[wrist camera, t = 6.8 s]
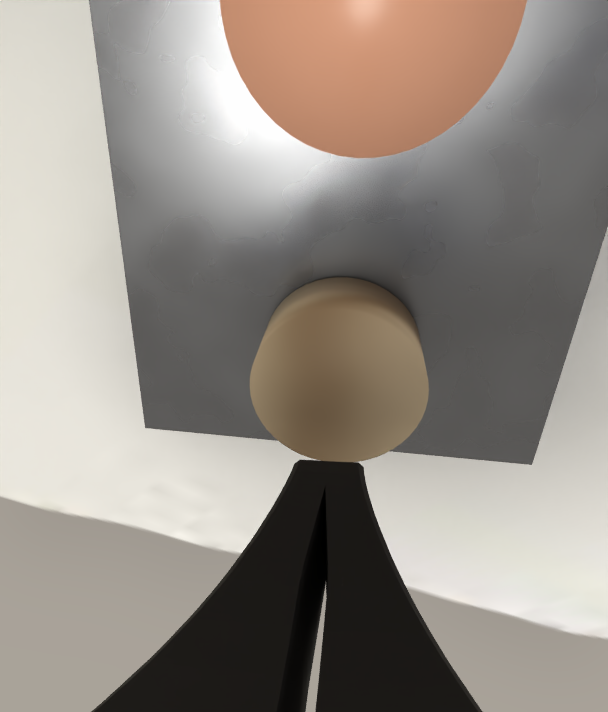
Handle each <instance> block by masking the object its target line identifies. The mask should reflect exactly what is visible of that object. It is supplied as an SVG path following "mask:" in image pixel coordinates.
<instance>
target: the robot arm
mask: <svg viewBox="0 0 608 712" xmlns="http://www.w3.org/2000/svg"><path fill="white" fill-rule="evenodd" d="M325 584H326V593H327V599H326V610H325V622H324V632H323V642H322V653H321V663H320V673H319V683H318V693H317V702H316V712H482V711H481V709H480V708H479V706H478V705H477V703H476V702H475V701H474V699H473V697H472V696H471V695H470V693H469V691H468V690H467V688H466V687H465V686H464V684H463V683H462V681H461V680H460V678H459V677H458V675H457V674H456V672H455V671H454V669H453V668H452V666H451V665H450V663H449V662H448V660H447V659H446V657H445V655H444V654H443V652H442V650H441V649H440V647H439V645H438V644H437V642H436V641H435V639H434V637H433V636H432V634H431V632H430V630H429V629H428V627H427V625H426V623H425V622H424V620H423V618H422V616H421V615H420V613H419V611H418V609H417V607H416V606H415V604H414V602H413V600H412V598H411V596H410V594H409V592H408V590H407V588H406V586H405V584H404V582H403V580H402V578H401V576H400V574H399V572H398V570H397V568H396V565H395V563H394V561H393V559H392V557H391V554H390V552H389V550H388V547H387V545H386V542H385V540H384V537H383V535H382V532H381V530H380V527H379V525H378V522H377V519H376V517H375V514H374V511H373V508H372V504H371V501H370V498H369V494H368V491H367V486H366V482H365V476H364V467H363V466H362V465H360V464H359V463H357V462H336V461H314V460H299V461H298V462H296V463H295V464H294V466H293V469H292V471H291V473H290V476H289V478H288V480H287V482H286V484H285V486H284V487H283V489H282V491H281V493H280V495H279V497H278V498H277V500H276V502H275V504H274V505H273V507H272V509H271V510H270V512H269V513H268V515H267V517H266V518H265V520H264V521H263V523H262V524H261V526H260V528H259V529H258V531H257V532H256V534H255V535H254V537H253V538H252V540H251V541H250V543H249V544H248V545H247V547H246V548H245V549H244V551H243V552H242V554H241V555H240V556H239V558H238V559H237V560H236V562H235V563H234V565H233V566H232V567H231V569H230V570H229V571H228V573H227V574H226V575H225V577H224V578H223V579H222V580H221V581H220V583H219V584H218V585H217V587H216V588H215V589H214V590H213V591H212V593H211V594H210V595H209V596H208V597H207V598H206V600H205V601H204V602H203V603H202V604H201V605H200V607H199V608H198V609H197V610H196V611H195V612H194V613H193V615H192V616H191V617H190V618H189V619H188V620H187V621H186V622H185V623H184V624H183V625H182V626H181V627H180V628H179V629H178V630H177V632H176V633H175V634H174V635H173V636H172V637H171V638H170V639H169V640H168V641H167V642H166V643H165V644H164V645H163V646H162V647H161V648H160V649H159V650H158V651H157V652H156V653H155V654H154V655H153V656H152V657H151V658H150V659H149V660H148V661H147V662H146V663H145V664H144V665H143V666H142V667H140V668H139V669H138V670H137V671H136V672H135V673H134V674H133V675H132V676H131V677H130V678H128V679H127V680H126V681H125V682H124V683H123V684H122V685H121V686H120V687H119V688H118V689H117V690H115V691H114V692H113V693H112V694H111V695H110V696H109V697H108V698H107V699H106V700H104V701H103V702H102V703H101V704H100V705H99V706H97V708H95V709H94V710H93V711H92V712H305V711H306V702H307V695H308V687H309V681H310V675H311V669H312V663H313V656H314V650H315V645H316V639H317V633H318V627H319V621H320V615H321V608H322V602H323V596H324V590H325Z"/></svg>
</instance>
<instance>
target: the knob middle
mask: <svg viewBox="0 0 608 712" xmlns="http://www.w3.org/2000/svg"><path fill="white" fill-rule="evenodd" d="M526 3H527V0H220V8H221V16H222V22H223V27H224V32H225V37H226V40H227V43H228V46H229V50H230V53H231V56H232V59H233V61H234V63H235V66H236V68H237V70H238V72H239V75H240V77H241V79H242V80H243V82H244V84H245V85H246V87H247V89H248V91H249V92H250V94H251V95H252V97H253V98H254V99H255V101H256V102H257V103H258V105H259V106H260V107H261V109H262V110H263V111H264V112H265V113H266V114H267V115H268V116H269V117H270V118H271V119H272V120H273V121H274V122H275V123H276V124H277V125H278V126H279V127H281V128H282V129H283V130H284V131H286V132H287V133H288V134H290V135H291V136H293V137H294V138H296V139H298V140H299V141H301V142H303V143H304V144H306V145H308V146H311V147H313V148H316V149H318V150H320V151H323V152H327V153H330V154H334V155H338V156H344V157H352V158H376V157H383V156H390V155H394V154H398V153H401V152H405V151H408V150H411V149H413V148H416V147H418V146H420V145H422V144H425V143H427V142H429V141H430V140H432V139H434V138H435V137H437V136H439V135H440V134H442V133H444V132H445V131H446V130H448V129H449V128H450V127H452V126H453V125H454V124H456V123H457V122H458V121H459V120H461V119H462V118H463V117H464V116H465V115H466V114H467V113H468V112H469V111H470V110H471V109H472V108H473V107H474V106H475V105H476V104H477V103H478V101H479V100H480V99H481V98H482V96H483V95H484V94H485V93H486V91H487V90H488V89H489V88H490V86H491V85H492V83H493V82H494V80H495V78H496V77H497V75H498V74H499V72H500V71H501V69H502V67H503V65H504V63H505V61H506V59H507V57H508V55H509V53H510V51H511V49H512V47H513V45H514V42H515V39H516V37H517V34H518V31H519V29H520V26H521V22H522V19H523V15H524V11H525V7H526Z"/></svg>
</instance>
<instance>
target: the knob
mask: <svg viewBox="0 0 608 712" xmlns="http://www.w3.org/2000/svg"><path fill="white" fill-rule="evenodd" d="M250 395H251V399H252V403H253V406H254V409H255V411H256V414H257V415H258V417H259V419H260V421H261V422H262V424H263V425H264V426H265V428H266V429H267V430H268V431H269V432H270V433H271V434H272V435H273V436H274V437H275V438H276V439H277V440H278V441H279V442H281V443H282V444H283V445H285V446H286V447H288V448H290V449H291V450H293V451H295V452H297V453H299V454H301V455H304V456H307V457H309V458H313V459H317V460H321V461H336V462H358V461H364V460H368V459H371V458H375V457H377V456H380V455H382V454H385V453H386V452H388V451H390V450H392V449H394V448H395V447H397V446H398V445H400V444H401V443H402V442H403V441H404V440H406V439H407V438H408V437H409V436H410V435H411V434H412V432H413V431H414V430H415V429H416V427H417V426H418V424H419V422H420V421H421V419H422V417H423V415H424V412H425V410H426V406H427V402H428V395H429V383H428V376H427V371H426V366H425V361H424V357H423V352H422V347H421V342H420V337H419V332H418V329H417V326H416V323H415V321H414V319H413V317H412V315H411V314H410V312H409V311H408V309H407V308H406V307H405V305H404V304H403V303H402V302H401V301H400V300H399V299H398V298H397V297H395V296H394V295H393V294H391V293H390V292H389V291H387V290H386V289H384V288H382V287H380V286H378V285H376V284H373V283H371V282H368V281H364V280H361V279H356V278H348V277H334V278H326V279H322V280H317V281H314V282H311V283H309V284H306V285H304V286H302V287H300V288H299V289H297V290H295V291H294V292H293V293H291V294H290V295H288V296H287V297H286V298H285V299H284V300H283V301H282V302H281V303H280V305H279V306H278V307H277V308H276V310H275V311H274V313H273V315H272V317H271V318H270V321H269V323H268V326H267V329H266V331H265V334H264V336H263V339H262V342H261V344H260V347H259V349H258V352H257V355H256V357H255V360H254V362H253V365H252V369H251V374H250Z"/></svg>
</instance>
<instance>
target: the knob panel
mask: <svg viewBox="0 0 608 712" xmlns="http://www.w3.org/2000/svg"><path fill="white" fill-rule="evenodd" d="M89 4H90V12H91V19H92V27H93V34H94V42H95V49H96V57H97V65H98V72H99V80H100V87H101V95H102V103H103V110H104V118H105V125H106V133H107V141H108V148H109V156H110V163H111V171H112V179H113V186H114V194H115V201H116V209H117V217H118V224H119V232H120V239H121V247H122V254H123V262H124V270H125V277H126V285H127V292H128V300H129V308H130V315H131V323H132V330H133V338H134V346H135V353H136V361H137V368H138V376H139V384H140V391H141V399H142V406H143V414H144V422H145V428H152V429H162V430H173V431H183V432H194V433H204V434H215V435H225V436H236V437H246V438H257V439H267V440H277V439H276V438H275V437H274V436H273V435H272V434H271V433H270V432H269V431H268V430H267V429H266V428H265V426H264V425H263V424H262V422H261V421H260V419H259V417H258V415H257V414H256V411H255V409H254V406H253V403H252V399H251V395H250V374H251V369H252V365H253V362H254V360H255V357H256V355H257V352H258V349H259V347H260V344H261V342H262V339H263V336H264V334H265V331H266V329H267V326H268V323H269V321H270V318H271V317H272V315H273V313H274V311H275V310H276V308H277V307H278V306H279V305H280V303H281V302H282V301H283V300H284V299H285V298H286V297H287V296H288V295H290V294H291V293H293V292H294V291H295V290H297V289H299V288H300V287H302V286H304V285H306V284H309V283H311V282H314V281H317V280H322V279H326V278H334V277H348V278H356V279H361V280H364V281H368V282H371V283H373V284H376V285H378V286H380V287H382V288H384V289H386V290H387V291H389V292H390V293H391V294H393V295H394V296H395V297H397V298H398V299H399V300H400V301H401V302H402V303H403V304H404V305H405V307H406V308H407V309H408V311H409V312H410V314H411V315H412V317H413V319H414V321H415V323H416V326H417V329H418V332H419V337H420V342H421V347H422V352H423V357H424V361H425V366H426V371H427V376H428V383H429V395H428V402H427V406H426V410H425V412H424V415H423V417H422V419H421V421H420V422H419V424H418V426H417V427H416V429H415V430H414V431H413V432H412V434H411V435H410V436H409V437H408V438H407V439H406V440H404V441H403V442H402V443H401V444H400V445H398V446H397V447H395V448H394V449H392V450H390V451H393V452H404V453H414V454H425V455H435V456H446V457H456V458H467V459H477V460H488V461H498V462H509V463H519V464H530V465H532V463H533V460H534V456H535V453H536V450H537V447H538V444H539V441H540V438H541V434H542V431H543V428H544V425H545V422H546V419H547V416H548V412H549V409H550V406H551V403H552V400H553V397H554V393H555V390H556V387H557V384H558V381H559V378H560V375H561V371H562V368H563V365H564V362H565V359H566V356H567V353H568V349H569V346H570V343H571V340H572V337H573V334H574V330H575V327H576V324H577V321H578V318H579V315H580V312H581V308H582V305H583V302H584V299H585V296H586V293H587V290H588V286H589V283H590V280H591V277H592V274H593V271H594V267H595V264H596V261H597V258H598V255H599V252H600V249H601V245H602V242H603V239H604V236H605V233H606V230H607V227H608V0H527V3H526V7H525V11H524V15H523V19H522V22H521V26H520V29H519V31H518V34H517V37H516V39H515V42H514V45H513V47H512V49H511V51H510V53H509V55H508V57H507V59H506V61H505V63H504V65H503V67H502V69H501V71H500V72H499V74H498V75H497V77H496V78H495V80H494V82H493V83H492V85H491V86H490V88H489V89H488V90H487V91H486V93H485V94H484V95H483V96H482V98H481V99H480V100H479V101H478V103H477V104H476V105H475V106H474V107H473V108H472V109H471V110H470V111H469V112H468V113H467V114H466V115H465V116H464V117H463V118H462V119H461V120H459V121H458V122H457V123H456V124H454V125H453V126H452V127H450V128H449V129H448V130H446V131H445V132H444V133H442V134H440V135H439V136H437V137H435V138H434V139H432V140H430V141H429V142H427V143H425V144H422V145H420V146H418V147H416V148H413V149H411V150H408V151H405V152H401V153H398V154H394V155H390V156H383V157H376V158H352V157H344V156H338V155H334V154H330V153H327V152H323V151H320V150H318V149H316V148H313V147H311V146H308V145H306V144H304V143H303V142H301V141H299V140H298V139H296V138H294V137H293V136H291V135H290V134H288V133H287V132H286V131H284V130H283V129H282V128H281V127H279V126H278V125H277V124H276V123H275V122H274V121H273V120H272V119H271V118H270V117H269V116H268V115H267V114H266V113H265V112H264V111H263V110H262V109H261V107H260V106H259V105H258V103H257V102H256V101H255V99H254V98H253V97H252V95H251V94H250V92H249V91H248V89H247V87H246V85H245V84H244V82H243V80H242V79H241V77H240V75H239V72H238V70H237V68H236V66H235V63H234V61H233V59H232V56H231V53H230V50H229V46H228V43H227V40H226V37H225V32H224V27H223V22H222V16H221V8H220V0H89Z"/></svg>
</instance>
